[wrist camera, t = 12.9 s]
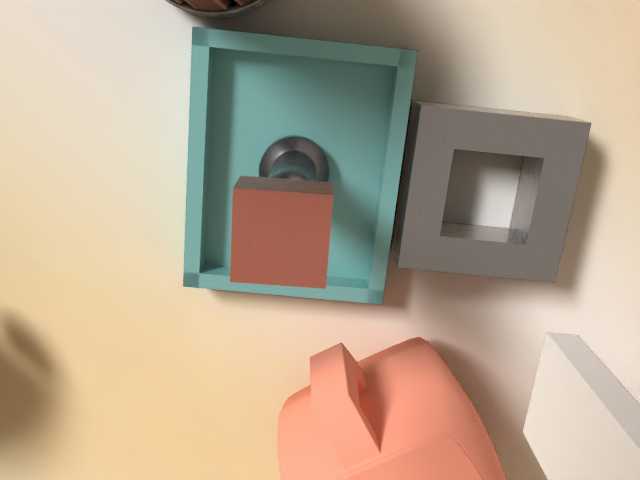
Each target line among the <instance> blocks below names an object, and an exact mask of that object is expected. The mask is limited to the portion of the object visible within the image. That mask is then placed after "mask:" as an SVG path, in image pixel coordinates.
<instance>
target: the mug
mask: <svg viewBox="0 0 640 480" xmlns="http://www.w3.org/2000/svg"><path fill="white" fill-rule="evenodd" d="M166 1H167V2H169V3H170V4H172V5H174V6H176V7H179V8H181V9H183V10H185V11H187V12H189V13H192V14H195V15H201V16H207V17H213V18H222V17H231V16H240V15H242V14H245V13H247V12H250V11H252V10H254V9H257V8H259V7H262V6H263V5H264V4H265V3H267V2H268V1H269V0H166Z"/></svg>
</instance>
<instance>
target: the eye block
mask: <svg viewBox="0 0 640 480" xmlns="http://www.w3.org/2000/svg"><path fill="white" fill-rule="evenodd" d="M590 127H591V123H590V122H586V121H583V120H579V119H575V118H572V117H568V116H559V115H549V114H539V113H529V112H520V111H510V110H500V109H490V108H481V107H471V106H461V105H451V104H442V103H432V102H422V101H412V108H411V115H410V122H409V129H408V136H407V143H406V150H405V157H404V165H403V172H402V179H401V186H400V193H399V200H398V207H397V214H396V221H395V228H394V235H393V242H392V249H391V251H392V253H393V256H394V259H395V262H396V265H397V267H398V268H406V269H417V270H427V271H438V272H449V273H459V274H470V275H480V276H491V277H502V278H512V279H523V280H534V281H544V282H555V280H556V275H557V271H558V266H559V262H560V258H561V253H562V249H563V245H564V240H565V236H566V232H567V227H568V223H569V218H570V214H571V210H572V205H573V201H574V197H575V192H576V188H577V184H578V179H579V175H580V170H581V166H582V162H583V157H584V153H585V149H586V144H587V140H588V136H589V131H590ZM454 149H459V150H469V151H479V152H489V153H499V154H509V155H519V156H524V158H523V163H522V168H521V173H520V178H519V183H518V188H517V193H516V198H515V203H514V208H513V213H512V218H511V223H510V228H498V227H488V226H477V225H467V224H457V223H446V222H442V220H443V214H444V208H445V202H446V196H447V190H448V183H449V177H450V171H451V165H452V159H453V153H454Z"/></svg>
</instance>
